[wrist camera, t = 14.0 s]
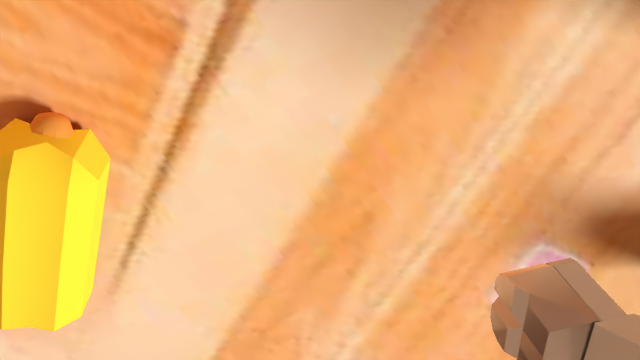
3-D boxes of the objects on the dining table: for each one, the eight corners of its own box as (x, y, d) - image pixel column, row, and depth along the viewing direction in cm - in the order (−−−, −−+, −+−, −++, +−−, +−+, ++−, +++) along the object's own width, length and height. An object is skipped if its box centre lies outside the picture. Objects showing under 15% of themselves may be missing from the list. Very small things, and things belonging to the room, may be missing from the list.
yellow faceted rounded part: (117, 110, 40) (-8, 90, 37) (110, 157, 34) (-37, 138, 31) (90, 302, 48) (-13, 297, 45) (82, 365, 42) (-37, 364, 40)
